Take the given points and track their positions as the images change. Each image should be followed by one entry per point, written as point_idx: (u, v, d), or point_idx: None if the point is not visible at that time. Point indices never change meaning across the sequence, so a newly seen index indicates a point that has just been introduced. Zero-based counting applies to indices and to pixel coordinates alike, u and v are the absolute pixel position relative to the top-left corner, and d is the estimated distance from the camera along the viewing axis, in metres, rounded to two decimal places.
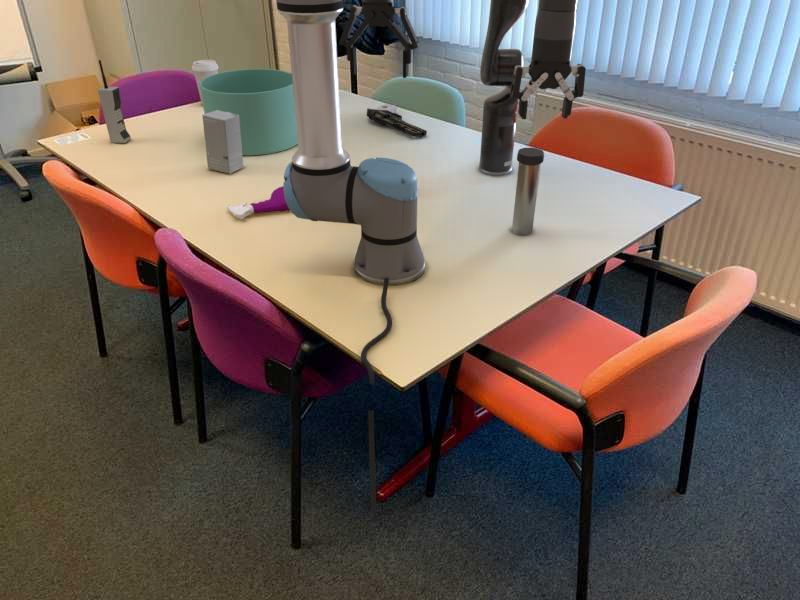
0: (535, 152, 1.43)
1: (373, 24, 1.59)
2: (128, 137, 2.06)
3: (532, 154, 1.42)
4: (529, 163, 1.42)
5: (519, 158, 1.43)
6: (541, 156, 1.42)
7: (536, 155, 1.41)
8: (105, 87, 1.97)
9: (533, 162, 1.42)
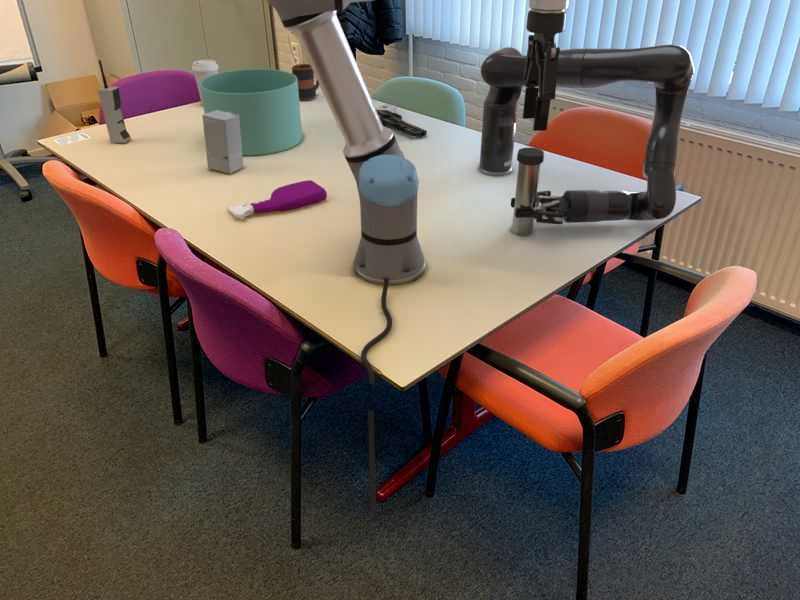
0: (535, 152, 1.43)
1: None
2: (128, 137, 2.06)
3: (532, 154, 1.42)
4: (529, 163, 1.42)
5: (519, 158, 1.43)
6: (541, 156, 1.42)
7: (536, 155, 1.41)
8: (105, 87, 1.97)
9: (533, 162, 1.42)
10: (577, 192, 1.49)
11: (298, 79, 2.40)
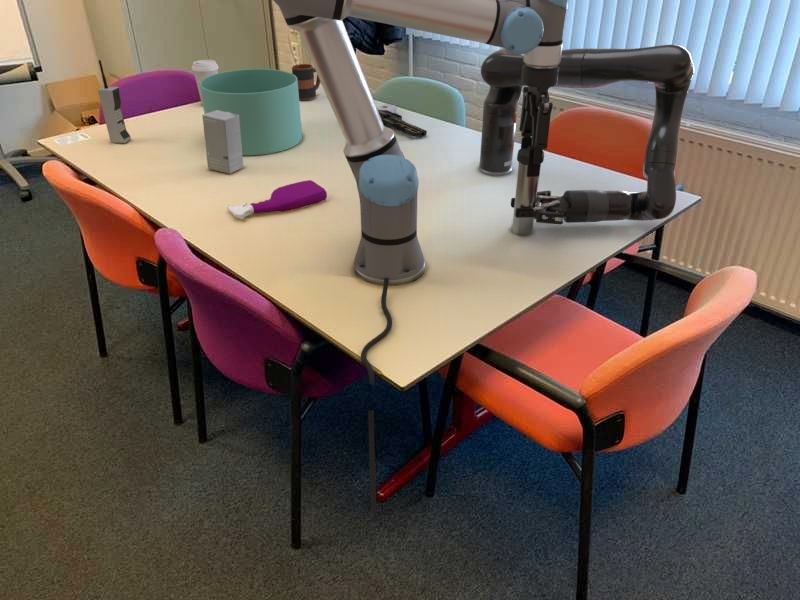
0: None
1: None
2: (128, 137, 2.06)
3: None
4: None
5: (519, 158, 1.43)
6: None
7: None
8: (105, 87, 1.97)
9: None
10: (577, 192, 1.49)
11: (298, 79, 2.40)
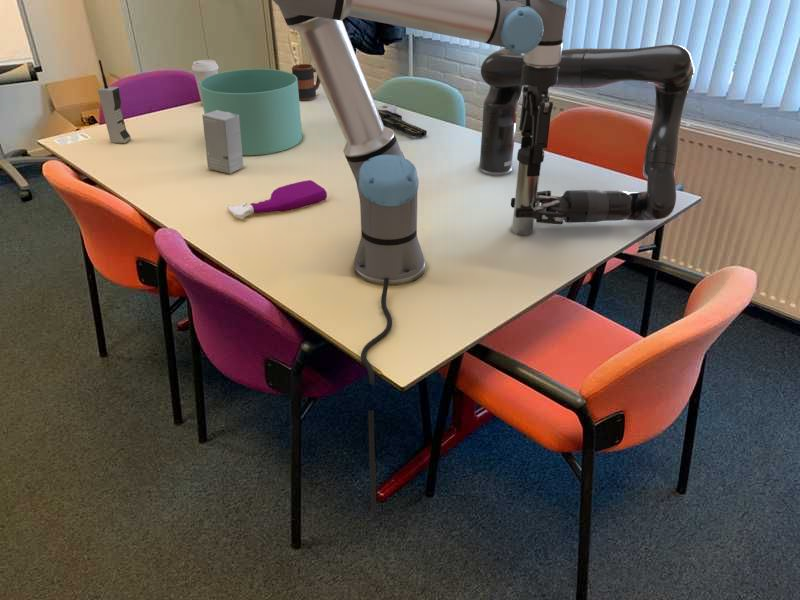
0: None
1: None
2: (128, 137, 2.06)
3: None
4: None
5: None
6: None
7: None
8: (105, 87, 1.97)
9: None
10: (577, 192, 1.49)
11: (298, 79, 2.40)
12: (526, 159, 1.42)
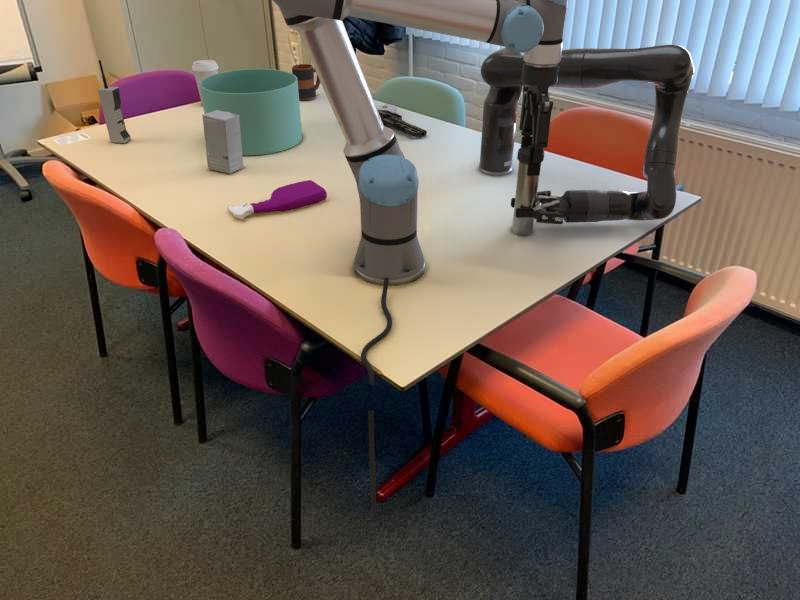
0: (526, 150, 1.43)
1: None
2: (128, 137, 2.06)
3: (528, 148, 1.44)
4: None
5: None
6: None
7: (524, 147, 1.45)
8: (105, 87, 1.97)
9: None
10: (577, 192, 1.49)
11: (298, 79, 2.40)
12: (543, 156, 1.43)
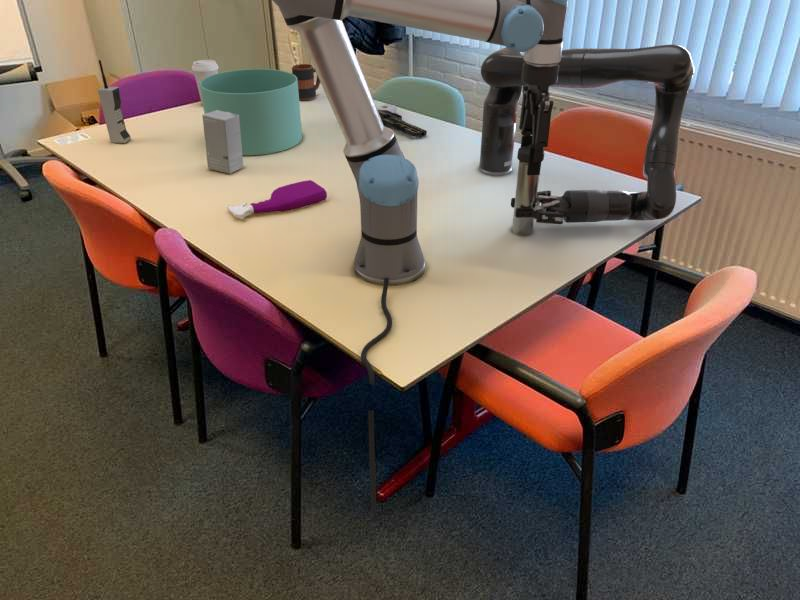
0: None
1: None
2: (128, 137, 2.06)
3: (524, 151, 1.43)
4: (518, 157, 1.44)
5: None
6: (526, 155, 1.41)
7: (523, 152, 1.42)
8: (105, 87, 1.97)
9: (519, 157, 1.43)
10: (577, 192, 1.49)
11: (298, 79, 2.40)
12: None
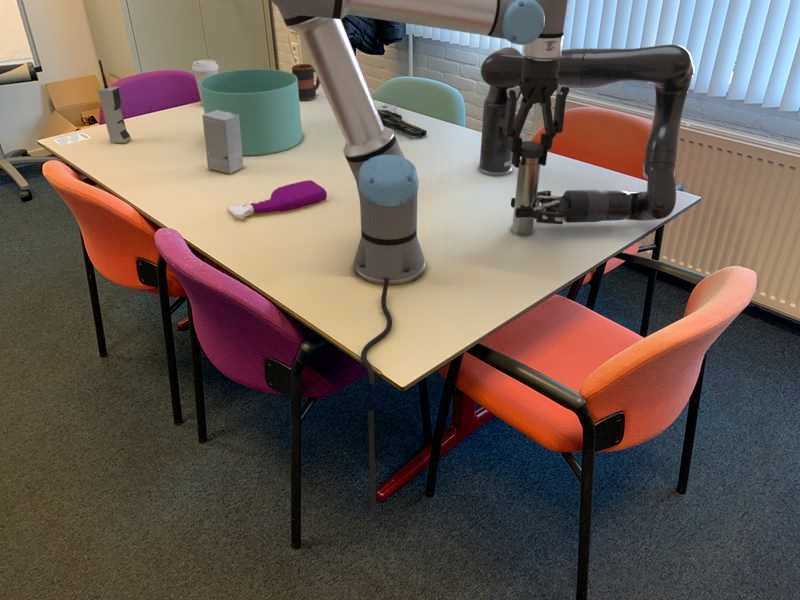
0: (535, 145, 1.42)
1: None
2: (128, 137, 2.06)
3: (534, 147, 1.41)
4: (534, 157, 1.41)
5: (522, 153, 1.41)
6: (543, 148, 1.42)
7: (539, 148, 1.41)
8: (105, 87, 1.97)
9: (537, 155, 1.41)
10: (577, 192, 1.49)
11: (298, 79, 2.40)
12: None
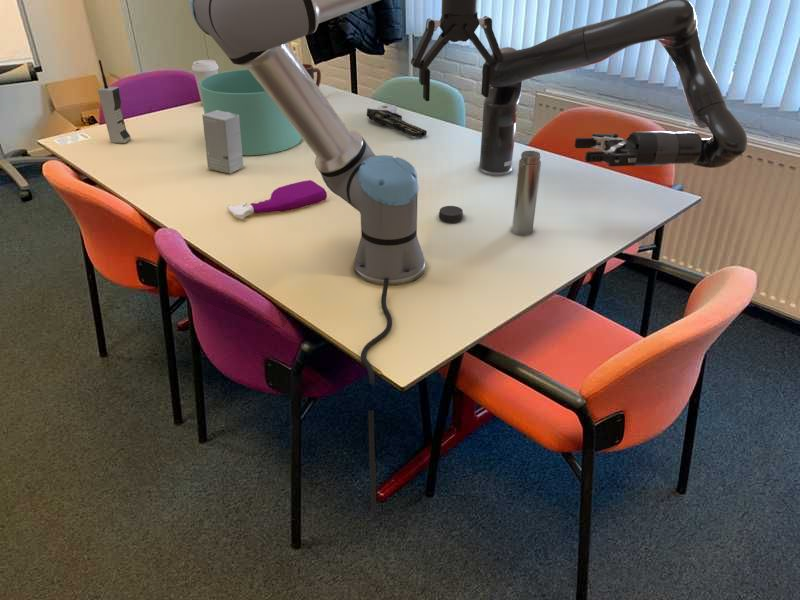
0: (455, 210, 1.59)
1: None
2: (128, 137, 2.06)
3: (454, 213, 1.57)
4: (453, 221, 1.57)
5: (443, 218, 1.58)
6: (461, 213, 1.58)
7: (458, 213, 1.57)
8: (105, 87, 1.97)
9: (456, 220, 1.57)
10: (645, 133, 1.42)
11: None
12: None
